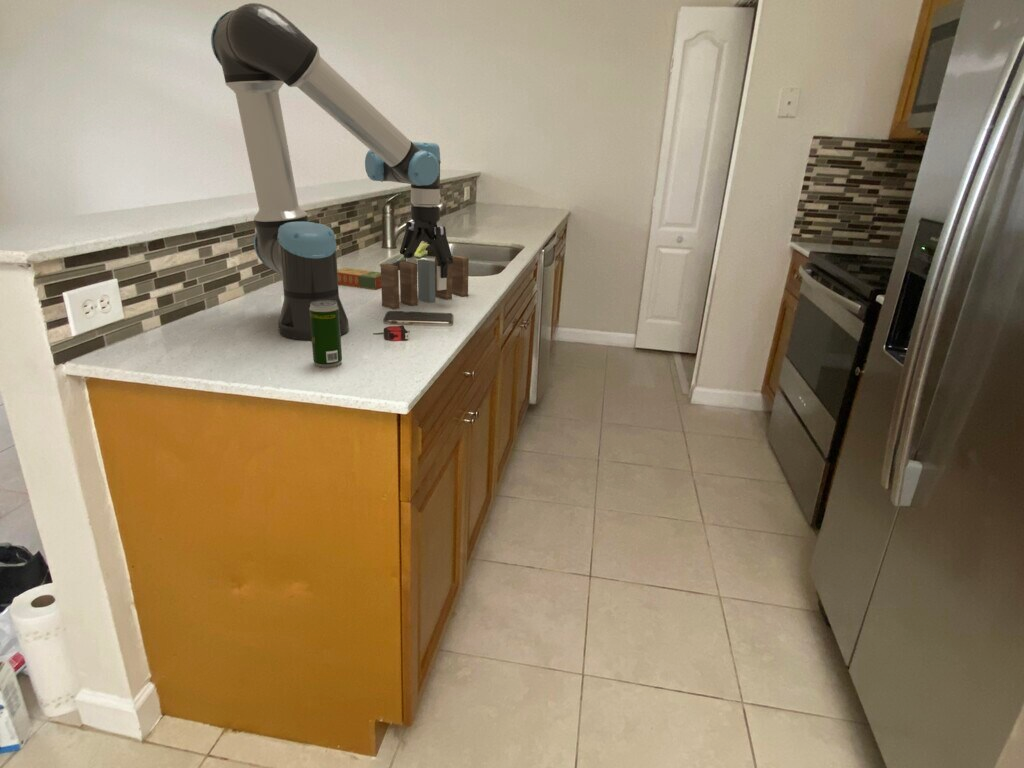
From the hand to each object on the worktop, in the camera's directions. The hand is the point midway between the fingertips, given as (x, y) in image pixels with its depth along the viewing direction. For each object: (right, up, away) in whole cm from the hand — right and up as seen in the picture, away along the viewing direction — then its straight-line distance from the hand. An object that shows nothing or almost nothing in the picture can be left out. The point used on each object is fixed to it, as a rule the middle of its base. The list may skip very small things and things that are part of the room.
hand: (425, 285), depth 171 cm
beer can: (-12, -23, -50) cm, 56 cm away
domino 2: (-4, -5, -2) cm, 7 cm away
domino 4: (+4, -3, +6) cm, 7 cm away
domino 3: (0, -4, +2) cm, 4 cm away
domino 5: (+8, -1, +10) cm, 13 cm away
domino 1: (-8, -7, -6) cm, 13 cm away
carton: (-22, +3, +18) cm, 29 cm away
